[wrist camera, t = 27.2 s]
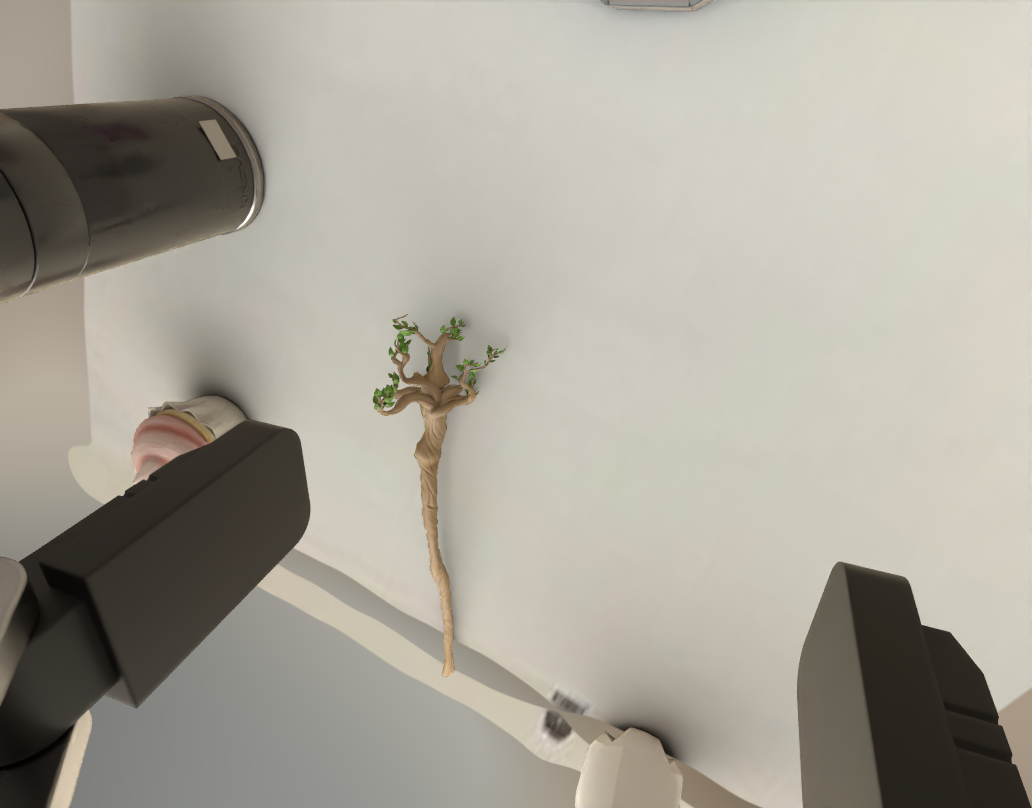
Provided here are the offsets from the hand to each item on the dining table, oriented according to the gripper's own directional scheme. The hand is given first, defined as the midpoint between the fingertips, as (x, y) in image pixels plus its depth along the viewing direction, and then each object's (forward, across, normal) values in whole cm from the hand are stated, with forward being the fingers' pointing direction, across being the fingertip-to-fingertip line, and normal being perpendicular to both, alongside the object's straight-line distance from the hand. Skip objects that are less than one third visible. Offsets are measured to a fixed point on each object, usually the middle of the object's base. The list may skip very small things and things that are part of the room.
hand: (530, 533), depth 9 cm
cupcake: (+32, +39, +25) cm, 56 cm away
